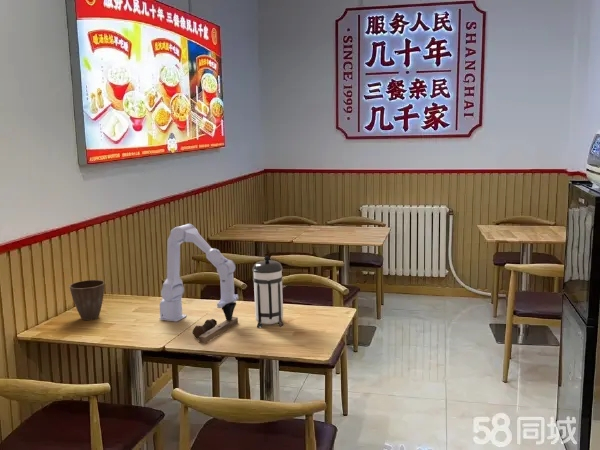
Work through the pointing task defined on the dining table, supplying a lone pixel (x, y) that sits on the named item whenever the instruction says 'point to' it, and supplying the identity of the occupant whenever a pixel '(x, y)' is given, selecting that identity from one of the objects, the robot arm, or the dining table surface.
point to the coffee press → (268, 292)
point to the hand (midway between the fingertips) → (228, 319)
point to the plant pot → (88, 298)
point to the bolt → (204, 328)
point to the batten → (217, 330)
